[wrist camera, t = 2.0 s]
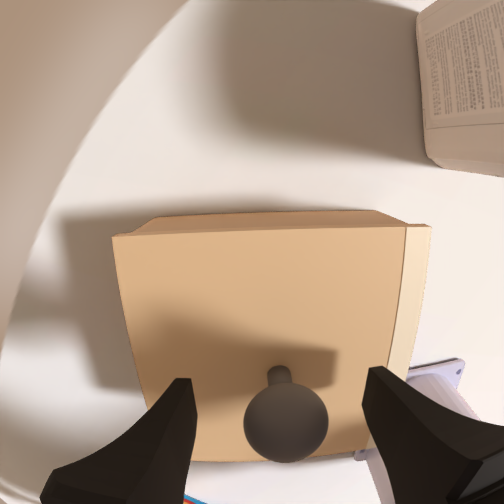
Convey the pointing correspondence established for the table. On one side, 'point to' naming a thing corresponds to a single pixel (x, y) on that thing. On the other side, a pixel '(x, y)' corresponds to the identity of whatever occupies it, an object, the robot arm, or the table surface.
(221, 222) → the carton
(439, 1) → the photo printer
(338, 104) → the table surface
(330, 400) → the lid
